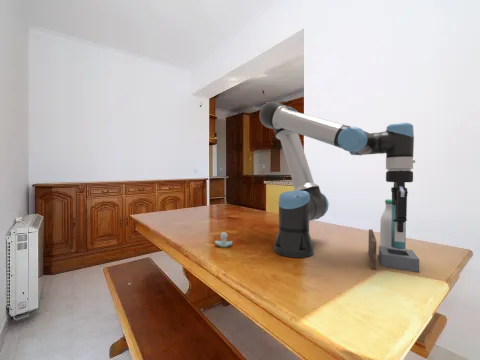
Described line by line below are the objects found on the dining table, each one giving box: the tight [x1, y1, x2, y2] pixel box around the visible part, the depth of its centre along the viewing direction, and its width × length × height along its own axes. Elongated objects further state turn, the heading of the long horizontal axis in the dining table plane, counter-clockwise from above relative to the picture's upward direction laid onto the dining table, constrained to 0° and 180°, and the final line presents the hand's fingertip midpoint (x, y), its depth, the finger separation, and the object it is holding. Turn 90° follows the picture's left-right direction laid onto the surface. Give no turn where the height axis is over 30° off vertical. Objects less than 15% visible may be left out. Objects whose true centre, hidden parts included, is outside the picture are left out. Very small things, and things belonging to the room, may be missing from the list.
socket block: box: [378, 245, 420, 273], centre depth 78 cm, size 10×10×4 cm
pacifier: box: [214, 231, 234, 248], centre depth 97 cm, size 7×6×6 cm
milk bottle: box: [379, 198, 393, 248], centre depth 95 cm, size 8×8×20 cm
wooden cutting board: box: [367, 229, 378, 271], centre depth 82 cm, size 1×18×9 cm, turn 154°
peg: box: [391, 205, 407, 249], centre depth 78 cm, size 4×4×14 cm
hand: (398, 239), depth 78 cm, fingers closed on peg, 4 cm apart
